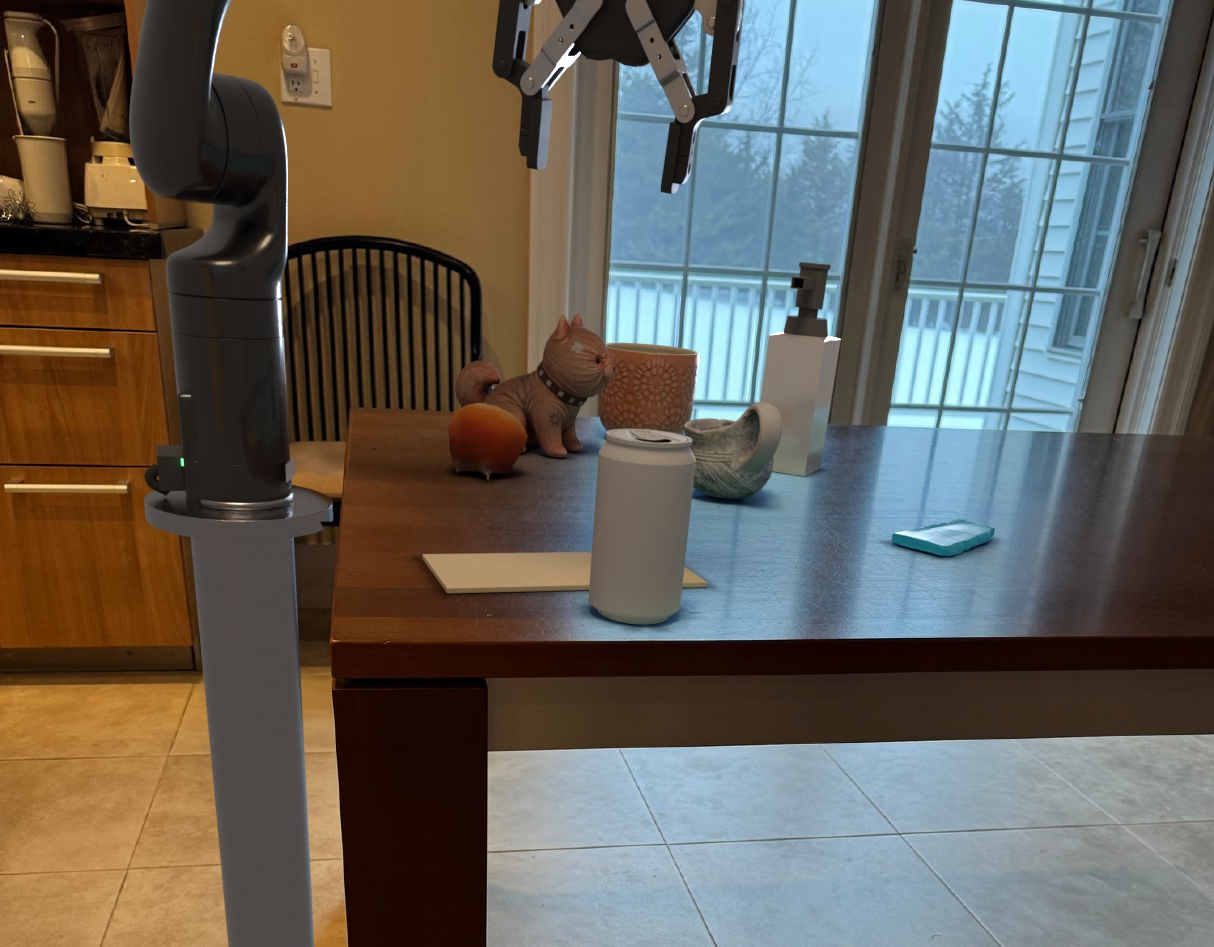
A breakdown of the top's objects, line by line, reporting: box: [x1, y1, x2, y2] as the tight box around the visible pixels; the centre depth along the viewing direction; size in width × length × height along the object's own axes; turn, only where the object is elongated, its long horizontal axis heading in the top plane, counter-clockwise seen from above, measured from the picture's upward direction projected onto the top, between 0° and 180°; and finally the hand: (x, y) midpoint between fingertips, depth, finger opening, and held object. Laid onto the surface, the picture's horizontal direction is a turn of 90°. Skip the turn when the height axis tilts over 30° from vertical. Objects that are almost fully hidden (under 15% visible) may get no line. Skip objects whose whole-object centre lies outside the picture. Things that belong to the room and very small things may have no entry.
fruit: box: [447, 403, 528, 482], centre depth 116 cm, size 8×8×8 cm
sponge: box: [891, 519, 996, 557], centre depth 105 cm, size 2×12×6 cm
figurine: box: [454, 312, 617, 459], centre depth 129 cm, size 10×19×15 cm, turn 72°
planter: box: [597, 342, 701, 435], centre depth 142 cm, size 12×12×11 cm
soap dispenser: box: [759, 261, 842, 477], centre depth 128 cm, size 6×9×22 cm
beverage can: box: [588, 429, 696, 625], centre depth 76 cm, size 6×6×12 cm
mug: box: [684, 402, 782, 500], centre depth 113 cm, size 10×12×10 cm
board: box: [421, 551, 708, 594], centre depth 86 cm, size 20×9×1 cm, turn 109°
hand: (601, 179), depth 70 cm, fingers open, 8 cm apart
